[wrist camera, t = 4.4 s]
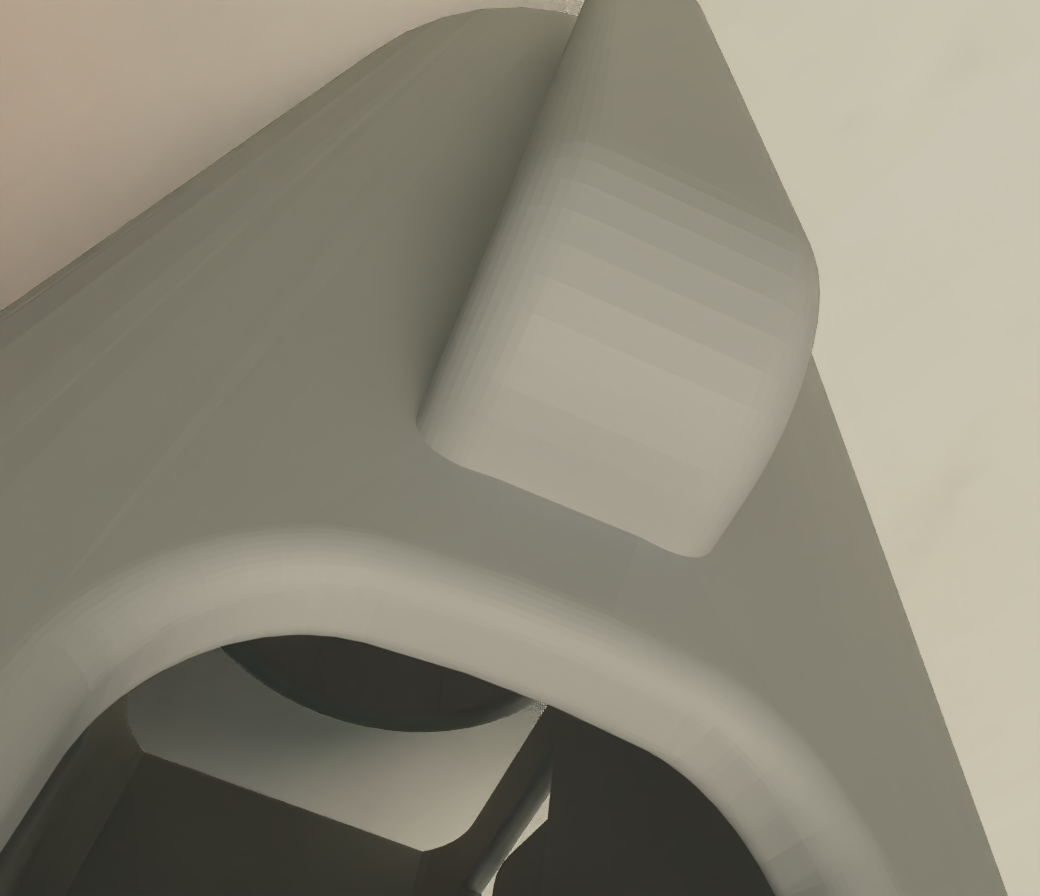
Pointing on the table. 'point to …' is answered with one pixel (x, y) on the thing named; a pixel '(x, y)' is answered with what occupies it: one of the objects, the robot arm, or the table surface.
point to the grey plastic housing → (468, 496)
